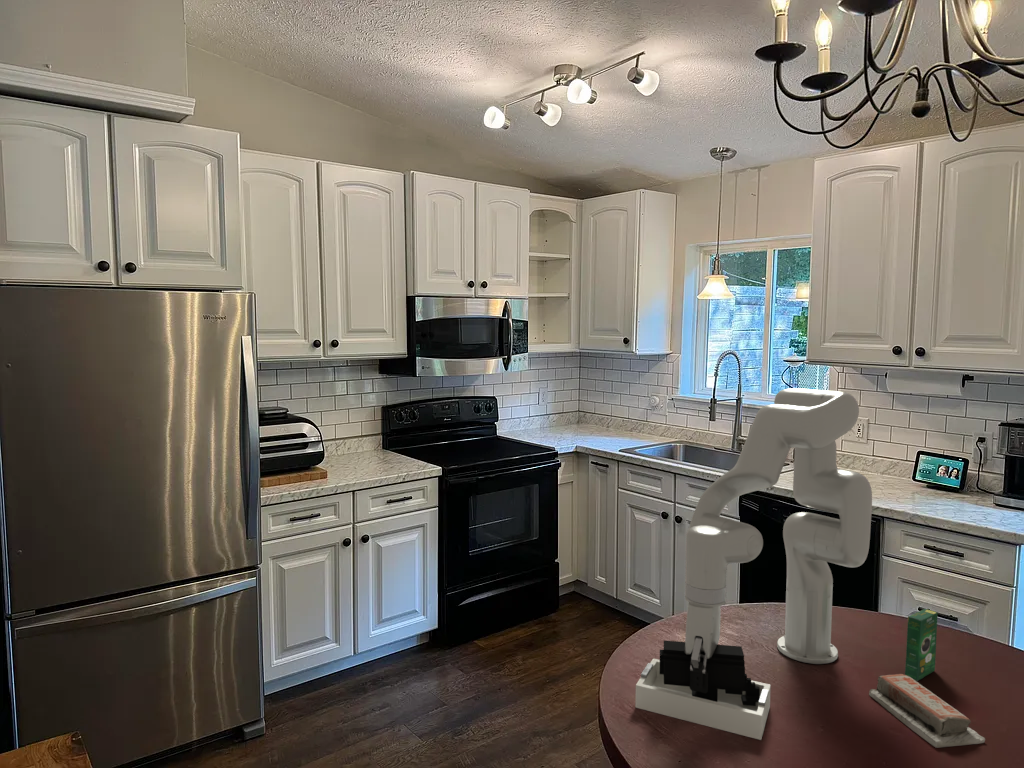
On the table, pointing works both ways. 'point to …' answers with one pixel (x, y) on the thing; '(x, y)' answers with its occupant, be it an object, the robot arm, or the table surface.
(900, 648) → the table surface
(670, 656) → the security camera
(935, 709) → the packaged product
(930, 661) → the coffee box
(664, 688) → the cradle
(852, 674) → the table surface
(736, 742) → the table surface
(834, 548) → the robot arm
